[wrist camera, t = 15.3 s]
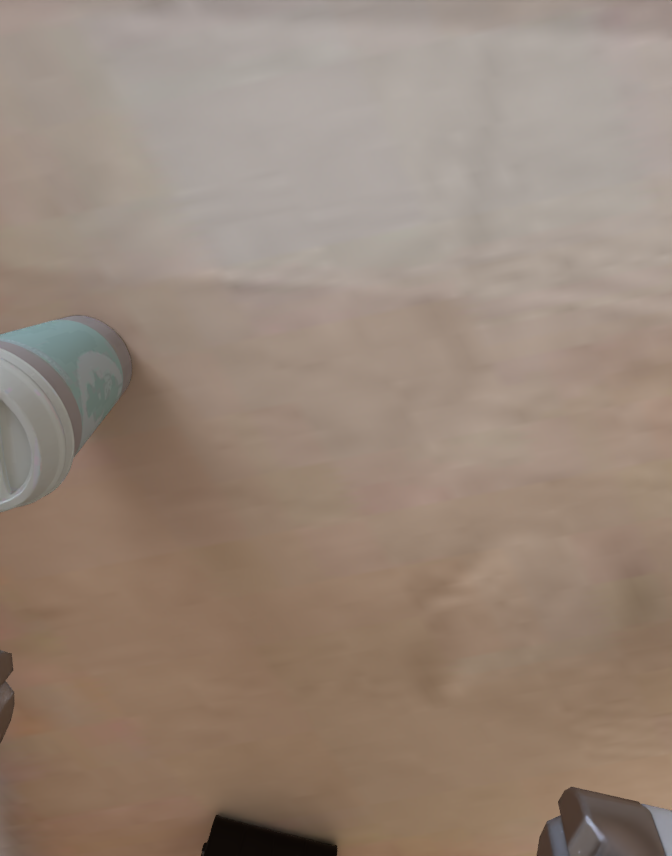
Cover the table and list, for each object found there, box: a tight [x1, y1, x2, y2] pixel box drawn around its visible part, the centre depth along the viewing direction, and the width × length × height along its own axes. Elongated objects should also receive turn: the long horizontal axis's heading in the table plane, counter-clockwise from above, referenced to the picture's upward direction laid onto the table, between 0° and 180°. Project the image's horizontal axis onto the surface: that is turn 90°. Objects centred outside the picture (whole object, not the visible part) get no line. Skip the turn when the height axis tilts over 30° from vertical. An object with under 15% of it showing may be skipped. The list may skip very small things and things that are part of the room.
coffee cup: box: [0, 316, 132, 512], centre depth 34 cm, size 8×8×12 cm
